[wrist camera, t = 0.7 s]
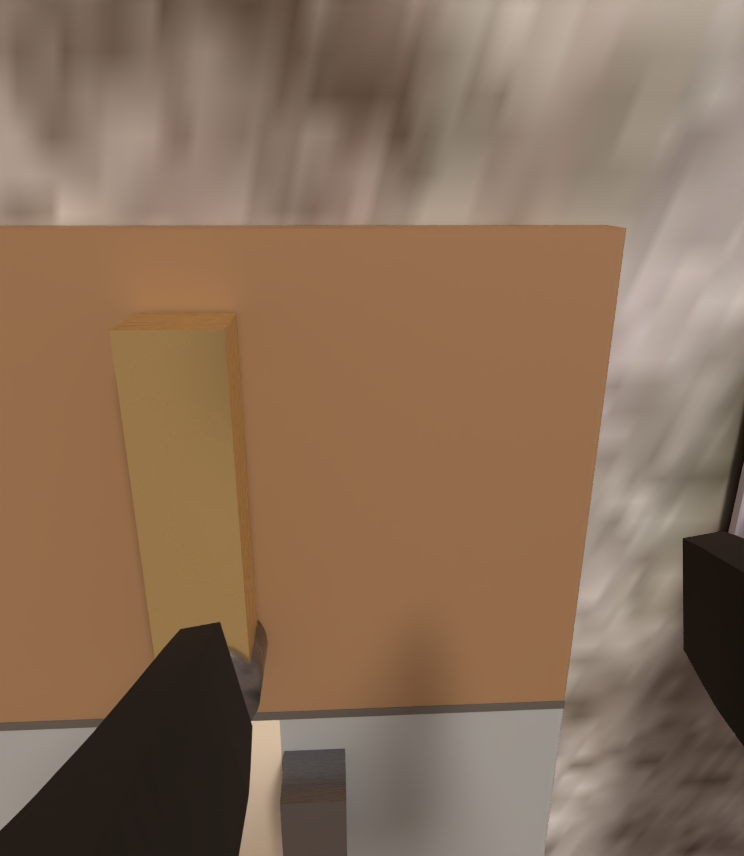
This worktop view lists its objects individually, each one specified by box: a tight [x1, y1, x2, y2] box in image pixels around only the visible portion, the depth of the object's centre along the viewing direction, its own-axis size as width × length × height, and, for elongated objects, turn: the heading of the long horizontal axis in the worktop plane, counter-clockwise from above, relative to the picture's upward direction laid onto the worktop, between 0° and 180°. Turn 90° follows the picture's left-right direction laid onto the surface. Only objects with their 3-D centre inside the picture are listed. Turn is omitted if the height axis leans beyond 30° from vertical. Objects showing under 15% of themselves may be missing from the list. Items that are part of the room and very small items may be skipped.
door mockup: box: [0, 225, 626, 856], centre depth 21 cm, size 22×28×1 cm
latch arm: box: [110, 313, 268, 720], centre depth 17 cm, size 12×3×2 cm, turn 0°
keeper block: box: [280, 748, 347, 856], centre depth 22 cm, size 2×4×2 cm, turn 0°
